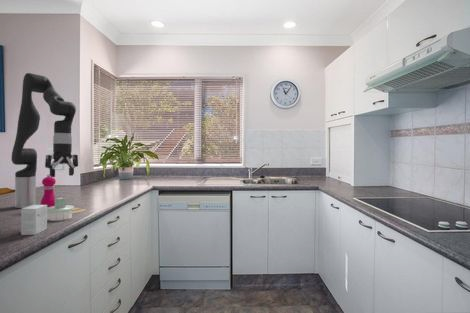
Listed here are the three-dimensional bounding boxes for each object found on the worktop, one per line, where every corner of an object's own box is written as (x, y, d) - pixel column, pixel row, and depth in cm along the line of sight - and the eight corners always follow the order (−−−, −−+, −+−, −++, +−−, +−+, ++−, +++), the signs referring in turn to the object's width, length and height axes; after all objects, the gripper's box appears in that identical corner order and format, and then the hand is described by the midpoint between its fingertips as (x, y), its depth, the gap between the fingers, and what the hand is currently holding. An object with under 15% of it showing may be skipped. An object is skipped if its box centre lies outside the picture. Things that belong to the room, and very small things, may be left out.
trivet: (51, 213, 143) (51, 211, 143) (73, 209, 154) (73, 207, 154) (65, 216, 138) (65, 214, 138) (87, 211, 148) (87, 210, 148)
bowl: (42, 220, 129) (42, 210, 129) (64, 216, 138) (64, 206, 138) (55, 223, 125) (55, 212, 125) (76, 219, 134) (76, 208, 134)
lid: (40, 210, 129) (40, 198, 129) (64, 205, 139) (64, 195, 139) (54, 213, 124) (54, 201, 124) (79, 208, 134) (79, 197, 134)
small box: (33, 229, 116) (33, 204, 116) (47, 229, 117) (47, 204, 117) (20, 235, 108) (20, 208, 108) (35, 235, 109) (35, 208, 109)
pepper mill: (48, 213, 144) (48, 175, 143) (37, 212, 145) (37, 174, 144) (59, 210, 151) (60, 173, 150) (48, 209, 152) (49, 173, 151)
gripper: (72, 143, 140) (72, 174, 141) (42, 142, 128) (41, 176, 128) (81, 143, 137) (81, 175, 137) (51, 142, 124) (50, 178, 125)
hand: (62, 176), depth 133 cm, fingers open, 8 cm apart
